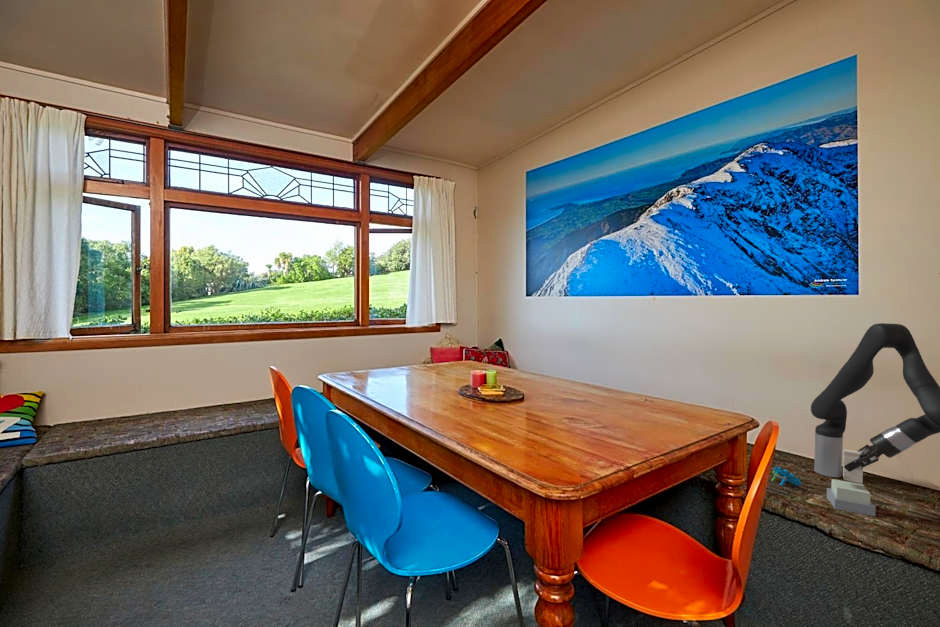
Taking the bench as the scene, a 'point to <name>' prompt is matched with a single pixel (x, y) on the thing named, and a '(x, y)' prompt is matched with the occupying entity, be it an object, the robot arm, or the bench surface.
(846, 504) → the tower base
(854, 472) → the cream block
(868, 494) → the tower top
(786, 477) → the blue toy dinosaur
